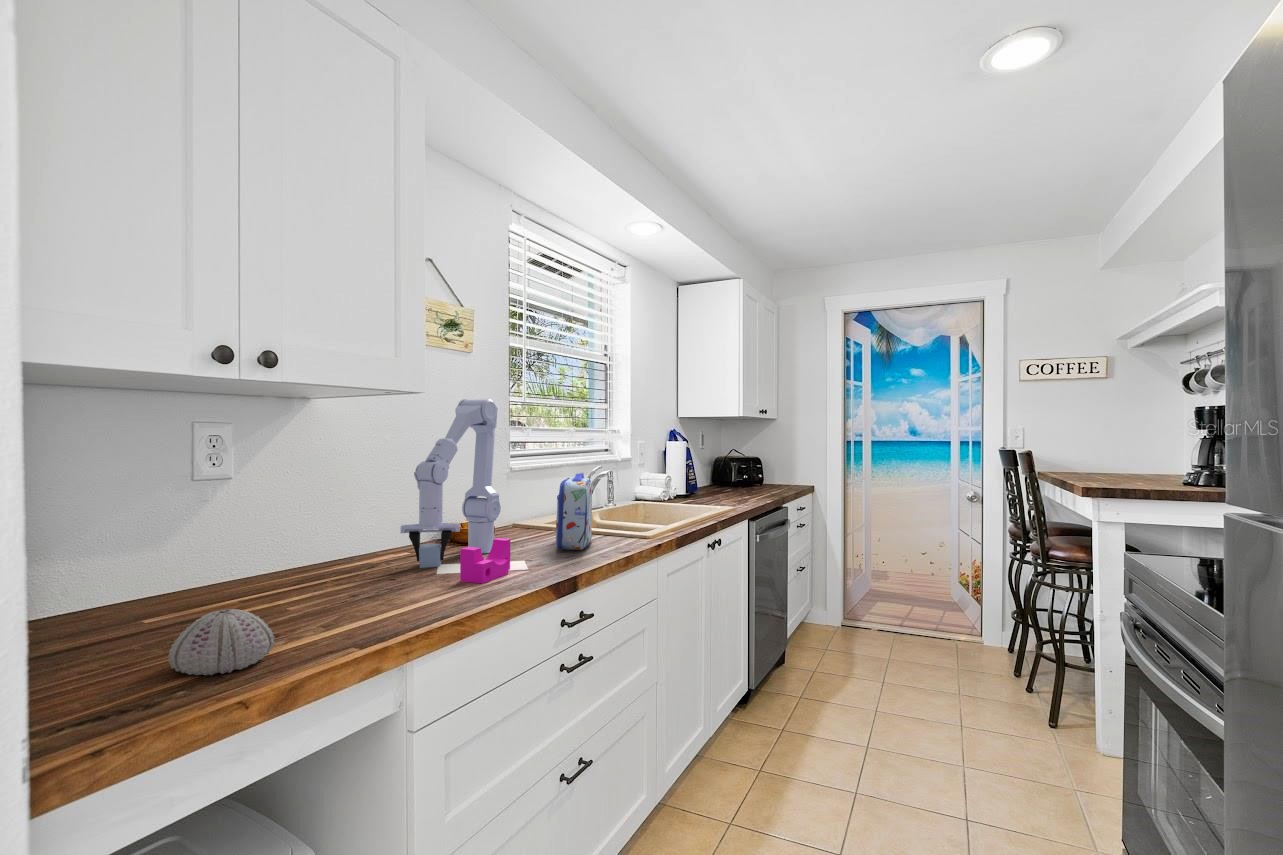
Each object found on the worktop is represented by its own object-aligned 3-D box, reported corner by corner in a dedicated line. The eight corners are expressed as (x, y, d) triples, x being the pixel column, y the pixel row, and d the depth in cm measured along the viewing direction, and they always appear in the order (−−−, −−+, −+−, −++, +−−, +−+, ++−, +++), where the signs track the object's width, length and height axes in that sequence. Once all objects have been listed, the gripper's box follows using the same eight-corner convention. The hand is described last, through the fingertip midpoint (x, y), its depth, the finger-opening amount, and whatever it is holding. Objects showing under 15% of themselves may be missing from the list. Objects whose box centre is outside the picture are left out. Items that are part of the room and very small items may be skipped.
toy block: (482, 583, 146) (483, 551, 146) (460, 580, 148) (460, 548, 148) (518, 569, 160) (518, 539, 160) (497, 567, 162) (497, 538, 162)
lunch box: (561, 538, 209) (561, 471, 209) (592, 538, 209) (593, 471, 209) (553, 554, 181) (553, 477, 182) (589, 554, 182) (590, 477, 182)
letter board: (438, 565, 166) (438, 564, 166) (524, 561, 171) (524, 560, 171) (436, 574, 155) (436, 573, 155) (528, 570, 161) (528, 569, 161)
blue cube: (421, 564, 167) (420, 545, 167) (441, 562, 168) (440, 543, 168) (419, 568, 162) (418, 548, 162) (440, 566, 163) (439, 546, 163)
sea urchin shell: (211, 687, 87) (212, 629, 87) (144, 674, 92) (144, 618, 92) (294, 655, 99) (294, 604, 100) (231, 645, 104) (232, 595, 104)
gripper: (399, 510, 159) (398, 564, 159) (459, 508, 163) (459, 561, 163) (402, 506, 166) (401, 559, 166) (460, 505, 170) (459, 556, 170)
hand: (430, 560), depth 165 cm, fingers closed on blue cube, 5 cm apart
